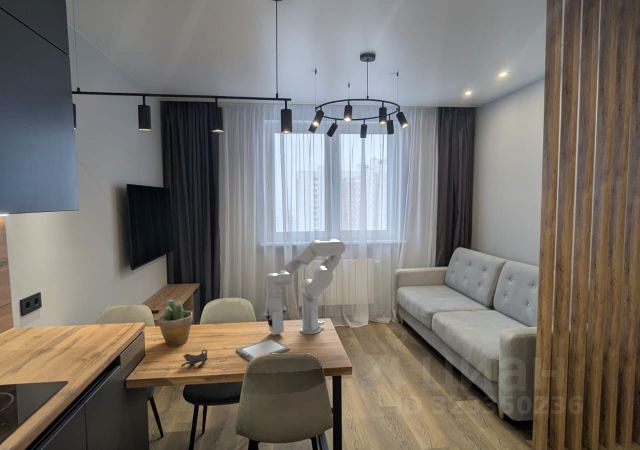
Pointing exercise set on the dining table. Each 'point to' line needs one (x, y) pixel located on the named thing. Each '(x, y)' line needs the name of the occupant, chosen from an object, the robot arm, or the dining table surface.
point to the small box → (277, 322)
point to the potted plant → (175, 323)
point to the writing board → (261, 349)
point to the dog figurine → (195, 359)
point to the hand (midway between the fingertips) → (276, 323)
